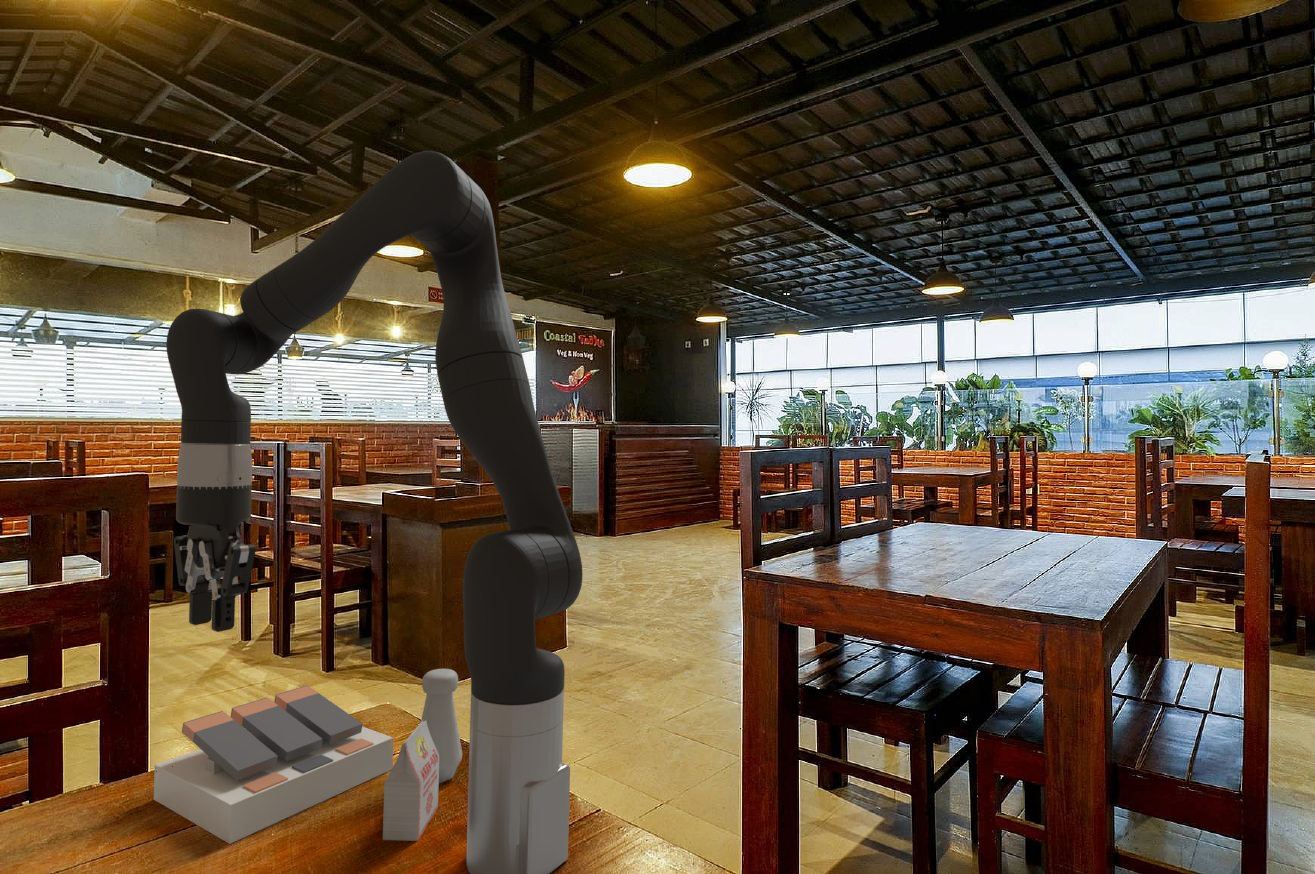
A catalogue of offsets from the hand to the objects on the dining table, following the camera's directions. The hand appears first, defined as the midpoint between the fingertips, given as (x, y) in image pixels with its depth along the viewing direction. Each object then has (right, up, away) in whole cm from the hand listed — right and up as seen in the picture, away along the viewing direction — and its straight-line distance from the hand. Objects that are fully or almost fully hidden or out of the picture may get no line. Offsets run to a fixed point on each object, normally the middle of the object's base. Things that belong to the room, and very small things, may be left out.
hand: (211, 626), depth 84 cm
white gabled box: (+26, -20, -6) cm, 33 cm away
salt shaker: (+25, -20, +5) cm, 33 cm away
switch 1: (+3, -13, -2) cm, 14 cm away
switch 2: (+6, -13, +2) cm, 15 cm away
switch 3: (+9, -13, +7) cm, 17 cm away
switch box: (+7, -20, +2) cm, 21 cm away
